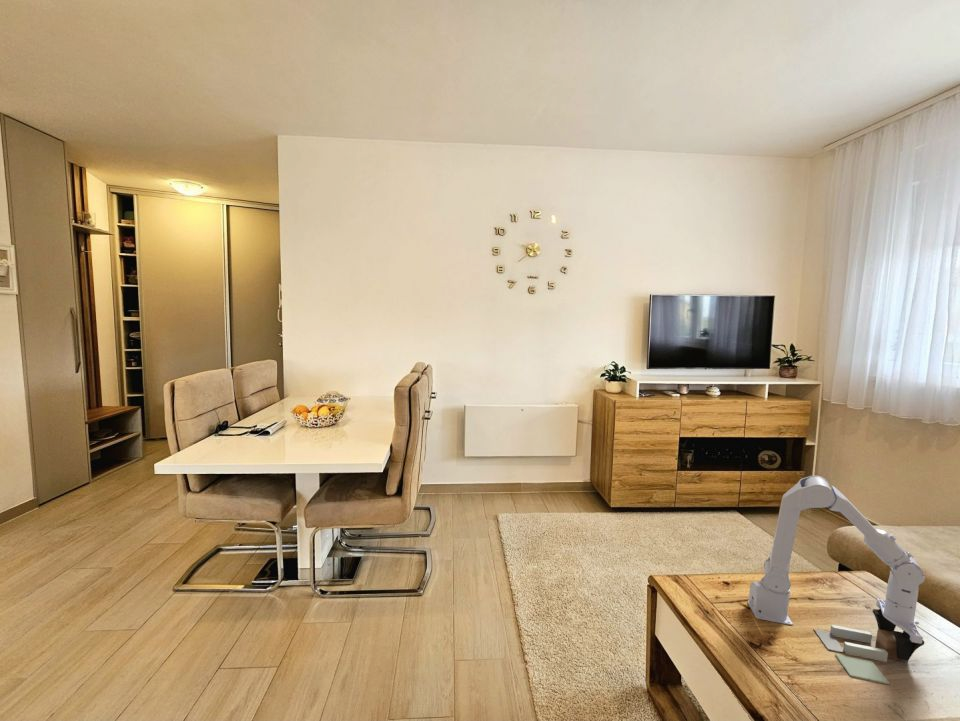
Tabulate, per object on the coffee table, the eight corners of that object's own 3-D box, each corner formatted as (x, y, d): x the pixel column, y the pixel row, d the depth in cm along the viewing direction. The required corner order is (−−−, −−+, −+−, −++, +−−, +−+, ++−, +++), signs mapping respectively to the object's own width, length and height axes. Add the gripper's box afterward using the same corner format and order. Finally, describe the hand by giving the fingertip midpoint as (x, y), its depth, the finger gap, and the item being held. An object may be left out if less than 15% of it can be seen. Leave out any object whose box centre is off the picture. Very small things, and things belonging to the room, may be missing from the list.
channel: (827, 650, 115) (829, 641, 115) (813, 629, 123) (814, 621, 123) (886, 661, 112) (887, 653, 112) (868, 640, 119) (869, 631, 119)
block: (884, 657, 114) (887, 639, 113) (875, 646, 117) (877, 629, 117) (907, 661, 112) (910, 644, 112) (897, 650, 116) (900, 633, 116)
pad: (850, 676, 107) (850, 674, 107) (835, 655, 113) (835, 653, 113) (889, 684, 105) (889, 683, 105) (871, 662, 111) (872, 661, 111)
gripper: (940, 622, 105) (932, 674, 107) (900, 587, 119) (893, 633, 121) (905, 616, 107) (898, 667, 108) (870, 582, 121) (863, 627, 122)
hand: (893, 649), depth 115 cm, fingers open, 6 cm apart
